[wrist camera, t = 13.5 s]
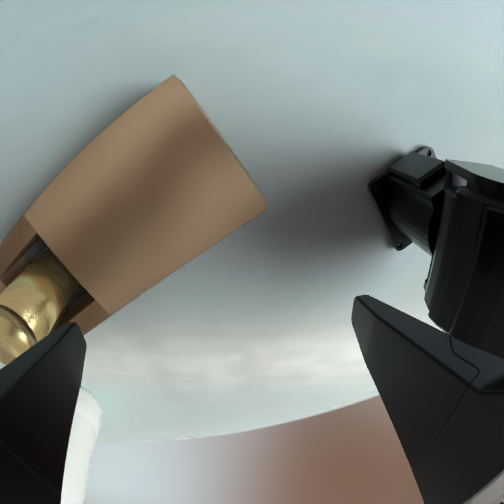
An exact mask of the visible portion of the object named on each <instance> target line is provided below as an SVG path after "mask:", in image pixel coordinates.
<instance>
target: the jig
mask: <svg viewBox="0 0 504 504" xmlns="http://www.w3.org/2000/svg"><path fill="white" fill-rule="evenodd" d="M267 209H269V207H268V205H267V204H266V202H265V200H264V198H263V196H262V194H261V193H260V191H259V189H258V188H257V186H256V185H255V183H254V182H253V181H252V179H251V178H250V176H249V175H248V173H247V172H246V170H245V169H244V167H243V166H242V165H241V163H240V162H239V160H238V159H237V157H236V156H235V155H234V153H233V152H232V150H231V149H230V147H229V146H228V145H227V143H226V142H225V140H224V139H223V137H222V136H221V135H220V133H219V132H218V130H217V129H216V128H215V126H214V125H213V123H212V122H211V121H210V119H209V118H208V117H207V115H206V114H205V112H204V111H203V110H202V108H201V107H200V106H199V104H198V103H197V101H196V100H195V99H194V97H193V96H192V95H191V93H190V92H189V91H188V89H187V88H186V86H185V85H184V84H183V82H181V81H180V80H179V79H178V78H177V77H176V76H175V75H172V76H171V77H170V78H168V79H167V80H165V81H164V82H163V83H161V84H160V85H159V86H157V87H156V88H155V89H153V90H152V91H151V92H149V93H148V94H147V95H145V96H144V97H143V98H141V99H140V100H139V101H138V102H136V103H135V104H134V105H133V106H131V107H130V108H129V109H128V110H127V111H125V112H124V113H123V114H122V115H121V116H119V117H118V118H117V119H116V120H115V121H114V122H112V123H111V124H110V125H109V126H108V127H107V128H106V129H104V130H103V131H102V132H101V133H100V134H99V135H98V136H97V137H96V138H95V139H93V140H92V141H91V142H90V143H89V144H88V145H87V146H86V147H85V148H84V149H83V150H82V151H81V152H80V153H79V154H78V155H77V156H76V157H75V158H74V159H73V160H72V161H71V162H70V163H69V164H68V165H67V166H66V167H65V168H64V169H63V170H62V171H61V172H60V173H59V174H58V175H57V176H56V178H55V179H54V180H53V181H52V182H51V183H50V184H49V185H48V186H47V187H46V189H45V190H44V191H43V192H42V193H41V194H40V195H39V197H38V198H37V199H36V200H35V201H34V202H33V204H32V205H31V206H30V207H29V208H28V210H27V211H26V212H25V213H24V215H23V216H22V217H21V218H20V220H19V221H18V222H17V223H16V225H15V226H14V227H13V229H12V230H11V231H10V233H9V234H8V235H7V237H6V238H5V239H4V241H3V242H2V244H1V245H0V294H1V293H2V292H3V291H4V290H5V289H6V288H7V287H8V285H9V284H10V283H11V282H12V281H13V280H14V279H15V278H16V277H17V276H18V275H19V274H20V273H21V272H22V271H23V270H24V269H25V268H26V267H27V266H28V265H29V264H30V263H29V262H28V260H27V259H26V258H25V257H24V254H25V253H26V252H27V251H28V250H29V248H30V247H31V246H32V245H33V244H34V243H35V241H36V240H37V239H38V238H39V237H41V238H42V239H43V241H44V242H45V243H46V244H47V246H48V247H49V248H50V249H51V250H52V252H53V253H54V254H55V255H56V256H57V258H58V259H59V260H60V261H61V262H62V264H63V265H64V266H65V267H66V268H67V269H68V270H69V272H70V273H71V274H72V275H73V276H74V277H75V278H76V279H77V281H78V282H79V283H80V284H81V285H82V286H83V287H84V288H85V289H86V290H87V292H86V293H85V294H84V295H82V296H81V297H80V298H79V299H78V300H76V301H75V302H74V303H73V304H72V305H70V306H69V307H68V306H67V305H66V306H65V307H64V309H63V311H62V312H61V314H60V315H59V317H58V319H57V320H56V322H55V323H54V325H53V327H52V328H51V330H50V332H49V333H48V334H50V333H51V332H53V331H54V330H55V329H57V328H58V327H60V326H61V325H63V324H64V323H66V322H76V323H77V324H78V325H79V327H80V330H81V332H82V334H83V335H85V334H86V333H87V332H89V331H90V330H92V329H93V328H94V327H96V326H97V325H99V324H100V323H101V322H103V321H104V320H106V319H107V318H108V317H110V316H111V315H113V314H114V313H115V312H117V311H118V310H120V309H121V308H122V307H124V306H125V305H127V304H128V303H130V302H131V301H132V300H134V299H135V298H137V297H138V296H140V295H141V294H142V293H144V292H145V291H147V290H148V289H150V288H151V287H153V286H154V285H155V284H157V283H158V282H160V281H161V280H163V279H164V278H166V277H167V276H168V275H170V274H171V273H173V272H174V271H176V270H177V269H179V268H180V267H182V266H183V265H185V264H186V263H187V262H189V261H190V260H192V259H193V258H195V257H196V256H198V255H199V254H201V253H202V252H204V251H205V250H207V249H208V248H210V247H211V246H213V245H214V244H216V243H217V242H219V241H220V240H222V239H223V238H225V237H226V236H228V235H229V234H231V233H232V232H234V231H235V230H237V229H238V228H240V227H241V226H243V225H244V224H246V223H247V222H249V221H250V220H252V219H253V218H255V217H256V216H258V215H259V214H261V213H263V212H264V211H266V210H267Z"/></svg>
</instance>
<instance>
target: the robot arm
mask: <svg viewBox="0 0 504 504" xmlns="http://www.w3.org/2000/svg"><path fill="white" fill-rule="evenodd" d="M427 151H428V152H429V153H428V155H427ZM375 185H377V188H376V189H375V190H373V187H374V186H375ZM368 190H369V192H370V194H371V197H372V199H373V201H374V203H375V205H376V207H377V210H378V212H379V214H380V216H381V219H382V221H383V223H384V225H385V228H386V230H387V232H388V235H389V237H390V239H391V242H392V244H393V247H394V248H395V249H396V250H398V251H401V250H403V249H404V248H405V247H407V246H408V245H410V244H411V243H412V242H414V243H415V244H416V245H418V246H419V247H420V248H421V249H423V250H424V251H425V252H426V253H428V254H429V255H430V256H431V257H432V260H431V264H430V269H429V273H428V277H427V279H426V280H425V283H424V289H425V298H424V300H425V302H426V305H427V307H428V309H429V314H428V316H429V318H430V319H431V320H432V321H433V322H434V323H435V324H436V325H437V326H438V327H439V328H440V329H442V330H443V331H444V332H445V333H444V332H442V331H440V330H438V329H436V328H434V327H432V326H430V325H428V324H426V323H424V322H422V321H420V320H418V319H416V318H414V317H412V316H410V315H408V314H406V313H404V312H402V311H400V310H398V309H396V308H394V307H392V306H389V305H387V304H385V303H383V302H381V301H379V300H377V299H375V298H373V297H371V296H369V295H361V296H356V297H355V299H354V303H353V311H352V325H353V328H354V331H355V334H356V337H357V340H358V343H359V346H360V349H361V352H362V355H363V358H364V360H365V363H366V365H367V368H368V370H369V372H370V374H371V376H372V378H373V381H374V383H375V385H376V387H377V389H378V392H379V394H380V396H381V398H382V400H383V403H384V405H385V407H386V410H387V412H388V414H389V416H390V419H391V421H392V423H393V425H394V428H395V430H396V433H397V435H398V437H399V440H400V442H401V445H402V447H403V449H404V452H405V454H406V457H407V459H408V461H409V464H410V466H411V469H412V472H413V475H414V477H415V479H416V482H417V485H418V487H419V490H420V492H421V495H422V498H423V501H424V503H425V504H504V169H501V168H498V167H495V166H491V165H485V164H479V163H472V162H464V161H456V160H448V159H445V162H444V161H442V160H439V159H436V156H435V153H434V151H433V149H432V148H431V147H428V146H425V147H423V148H421V149H420V150H418V151H417V152H411V153H409V154H408V155H406V156H405V157H403V158H402V159H400V160H399V161H397V162H395V163H394V164H392V165H391V166H389V168H388V171H386V172H385V173H383V174H381V175H380V176H378V177H377V178H375V179H374V180H372V181H371V182H370V183H369V185H368ZM400 242H401V243H400ZM399 243H400V245H399V246H398V244H399ZM85 353H86V341H85V339H84V337H83V334H82V332H81V330H80V327H79V325H78V324H77V323H76V322H66V323H64V324H63V325H61V326H60V327H58V328H57V329H55V330H54V331H53V332H51V333H50V334H48V335H47V336H46V337H44V338H43V339H41V340H40V341H39V342H37V343H36V344H34V345H33V346H32V347H30V348H29V349H28V350H26V351H25V352H24V353H22V354H21V355H19V356H18V357H17V358H15V359H14V360H13V361H11V362H10V363H9V364H7V365H6V366H5V367H3V368H2V369H1V370H0V504H61V494H62V485H63V477H64V470H65V463H66V456H67V450H68V444H69V439H70V433H71V428H72V423H73V418H74V413H75V408H76V404H77V400H78V395H79V391H80V386H81V380H82V373H83V366H84V360H85Z"/></svg>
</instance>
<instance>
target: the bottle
mask: <svg viewBox="0 0 504 504" xmlns="http://www.w3.org/2000/svg"><path fill="white" fill-rule="evenodd" d="M102 415H103V412H102V407H101V405H100V404H99V402H98V400H97V399H96V398H95V397H93V396H92V395H91V394H90V393H89V392H88V391H86V390H85V389H83V388H82V387H80V391H79V395H78V400H77V404H76V408H75V413H74V418H73V423H72V428H71V433H70V439H69V444H68V450H67V456H66V463H65V470H64V477H63V485H62V494H61V504H83V503H84V497H85V492H86V485H87V481H88V475H89V471H90V466H91V461H92V457H93V452H94V448H95V443H96V439H97V435H98V434H99V431H100V427H101V419H102Z"/></svg>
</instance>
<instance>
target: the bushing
mask: <svg viewBox="0 0 504 504" xmlns="http://www.w3.org/2000/svg"><path fill="white" fill-rule="evenodd" d="M79 285H80V283H79V282H78V281H77V279H76V278H75V277H74V276H73V275H72V274H71V273H70V272H69V270H68V269H67V268H66V267H65V266H64V265H63V264H62V262H61V261H60V260H59V259H58V258H57V256H56V255H55V254H54V253H53V252H52V250H51V249H50V248H49V247H48V246H47V247H46V248H45V249H44V250H43V251H42V252H41V253H40V254H39V255H38V256H37V257H36V258H35V259H34V260H33V261H32V262H31V263H30V264H29V265H28V266H27V267H26V268H25V269H24V270H23V271H22V272H21V273H20V274H19V275H18V276H17V277H16V278H15V279H14V280H13V281H12V282H11V283H10V284H9V285H8V287H7V288H6V289H5V290H4V291H3V292H2V293H1V294H0V361H1V362H2V363H3V364H5V365H7V364H9V363H10V362H11V361H13V360H14V359H15V358H17V357H18V356H19V355H21V354H22V353H24V352H25V351H26V350H28V349H29V348H30V347H32V346H33V345H34V344H36V343H37V342H39V341H40V340H41V339H43V338H44V337H46V336H47V335H48V333H49V332H50V330H51V328H52V327H53V325H54V323H55V322H56V320H57V319H58V317H59V315H60V314H61V312H62V311H63V309H64V307H65V306H66V304H67V303H68V301H69V300H70V298H71V297H72V295H73V294H74V292H75V291H76V289H77V288H78V286H79Z"/></svg>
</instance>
